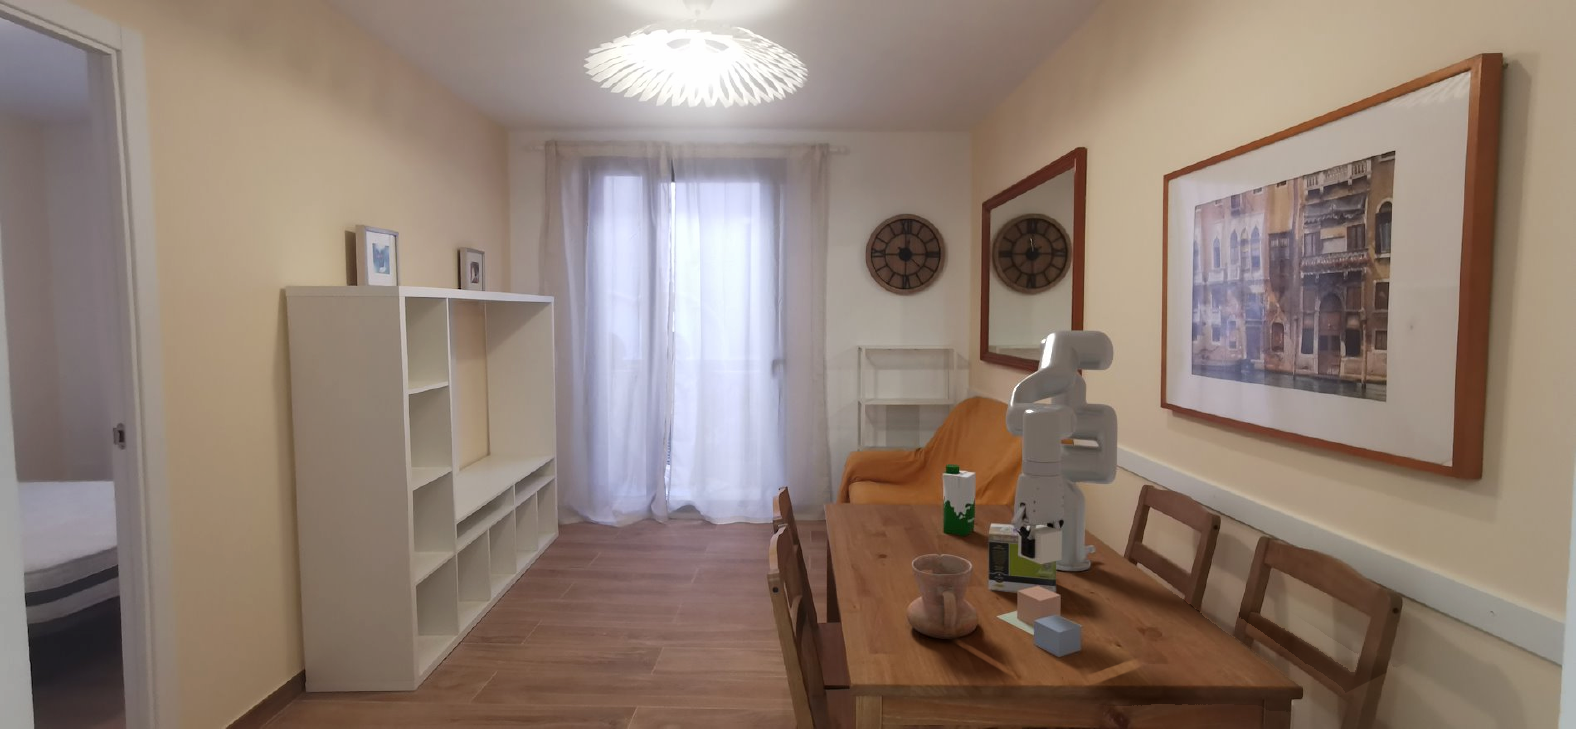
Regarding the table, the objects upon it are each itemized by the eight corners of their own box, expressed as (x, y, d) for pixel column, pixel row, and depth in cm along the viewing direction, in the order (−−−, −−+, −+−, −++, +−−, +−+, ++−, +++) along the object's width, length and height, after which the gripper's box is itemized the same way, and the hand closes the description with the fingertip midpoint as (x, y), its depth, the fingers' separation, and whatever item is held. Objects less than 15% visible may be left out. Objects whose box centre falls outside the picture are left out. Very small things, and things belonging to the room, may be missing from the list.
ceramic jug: (903, 611, 155) (903, 548, 154) (970, 613, 154) (970, 549, 153) (910, 651, 137) (910, 580, 136) (986, 653, 136) (986, 582, 135)
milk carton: (949, 525, 220) (950, 462, 219) (978, 530, 215) (978, 465, 214) (939, 532, 213) (939, 467, 211) (968, 537, 208) (969, 470, 206)
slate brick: (1055, 643, 140) (1055, 614, 139) (1080, 656, 134) (1081, 625, 134) (1033, 650, 137) (1034, 620, 137) (1058, 663, 132) (1059, 632, 131)
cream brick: (1038, 551, 150) (1039, 523, 150) (1061, 559, 145) (1062, 530, 145) (1018, 555, 147) (1018, 527, 147) (1040, 564, 142) (1041, 534, 142)
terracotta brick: (1037, 613, 151) (1037, 585, 151) (1060, 623, 146) (1060, 595, 146) (1017, 618, 148) (1017, 590, 148) (1039, 629, 143) (1040, 600, 143)
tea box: (1054, 587, 169) (1055, 526, 168) (1056, 602, 160) (1057, 538, 159) (989, 579, 174) (990, 520, 173) (987, 594, 165) (988, 532, 164)
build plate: (1036, 610, 155) (1036, 605, 155) (1082, 631, 145) (1082, 625, 145) (996, 621, 150) (996, 616, 150) (1040, 644, 139) (1040, 638, 139)
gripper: (1055, 461, 153) (1054, 543, 154) (996, 468, 144) (995, 555, 145) (1085, 467, 146) (1083, 552, 147) (1024, 475, 138) (1023, 566, 139)
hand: (1039, 553), depth 146 cm, fingers closed on cream brick, 6 cm apart
